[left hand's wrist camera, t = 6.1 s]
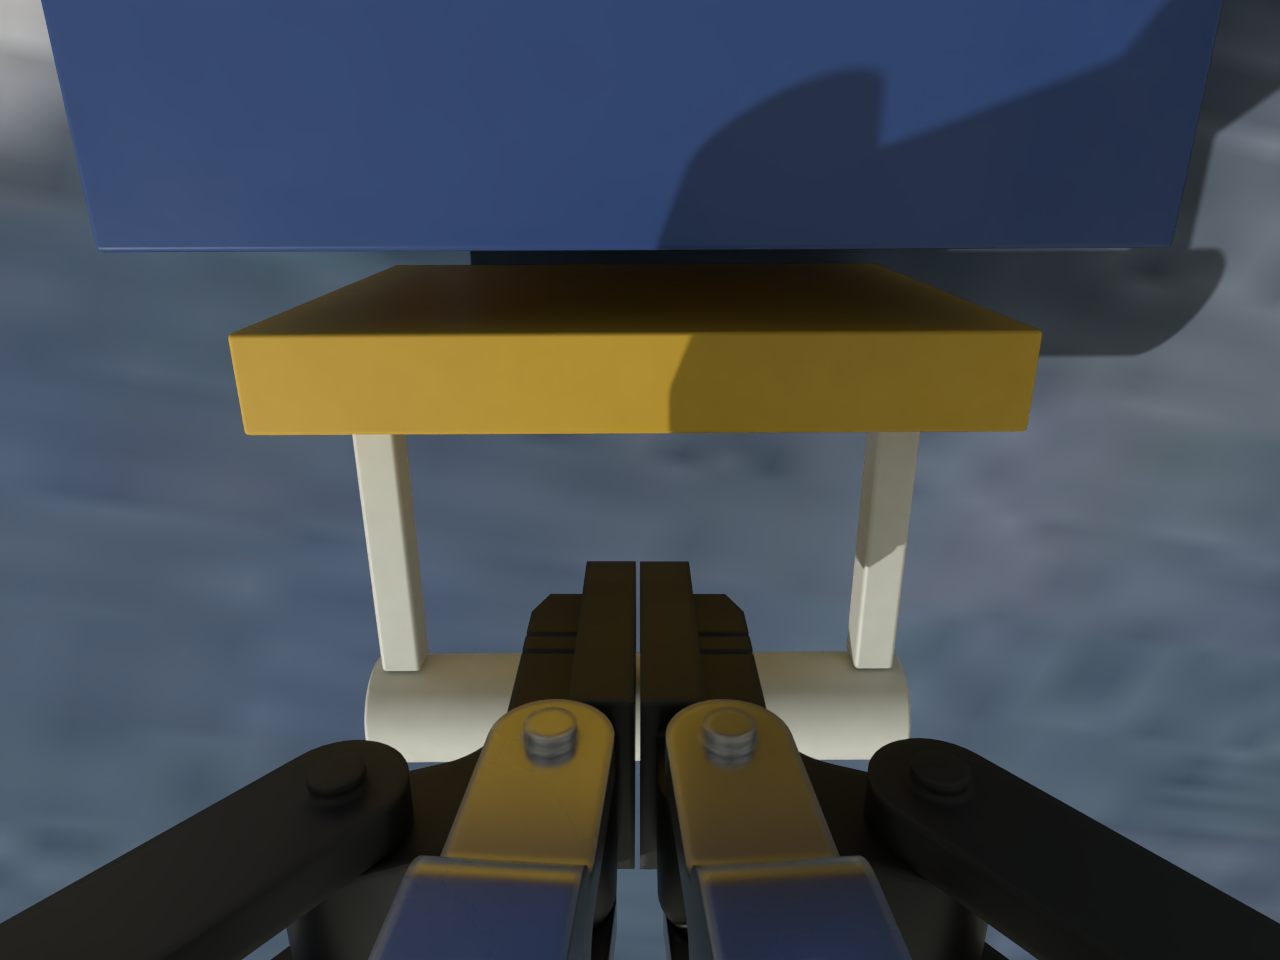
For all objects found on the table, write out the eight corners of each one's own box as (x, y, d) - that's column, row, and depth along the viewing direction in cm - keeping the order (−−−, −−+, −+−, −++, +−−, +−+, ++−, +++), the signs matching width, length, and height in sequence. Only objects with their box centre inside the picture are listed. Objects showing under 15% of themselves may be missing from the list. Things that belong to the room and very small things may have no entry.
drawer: (846, 595, 18) (961, 832, 12) (428, 598, 18) (314, 835, 12) (983, -886, 11) (1509, -2480, 4) (275, -885, 11) (-277, -2491, 4)
